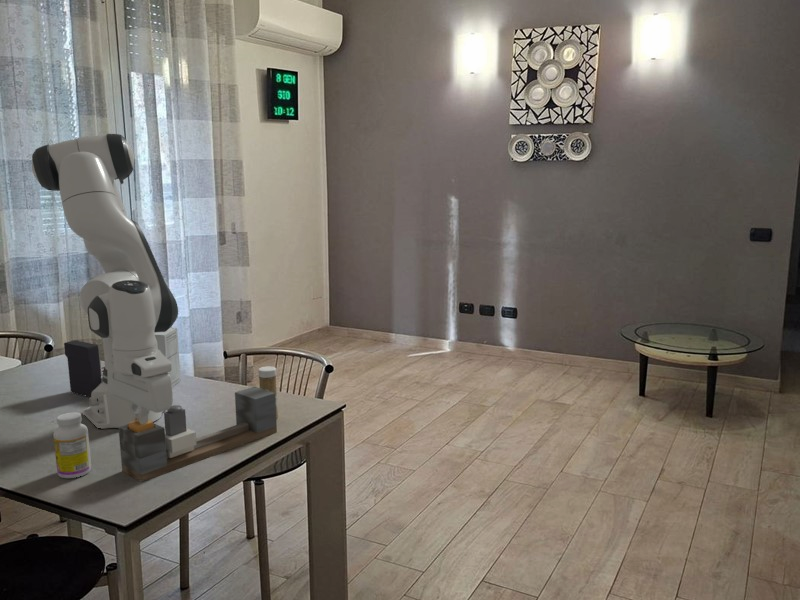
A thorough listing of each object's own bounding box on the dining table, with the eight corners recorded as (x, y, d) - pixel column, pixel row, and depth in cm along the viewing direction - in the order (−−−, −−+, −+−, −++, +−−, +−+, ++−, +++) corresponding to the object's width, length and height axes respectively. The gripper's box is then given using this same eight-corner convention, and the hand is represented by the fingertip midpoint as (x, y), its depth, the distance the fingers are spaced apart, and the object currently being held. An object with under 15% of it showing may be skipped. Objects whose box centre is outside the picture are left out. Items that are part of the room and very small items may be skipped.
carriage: (157, 452, 157) (154, 408, 155) (181, 444, 162) (178, 401, 160) (172, 459, 153) (169, 414, 151) (196, 451, 158) (194, 407, 156)
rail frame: (122, 471, 152) (118, 427, 150) (256, 424, 179) (254, 386, 177) (141, 481, 147) (138, 436, 145) (276, 431, 174) (275, 393, 172)
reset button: (130, 445, 150) (128, 422, 150) (146, 440, 153) (144, 418, 152) (139, 449, 148) (137, 426, 147) (154, 444, 151) (153, 422, 150)
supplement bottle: (64, 466, 154) (59, 410, 152) (95, 465, 155) (90, 409, 153) (52, 480, 148) (46, 422, 145) (85, 479, 148) (79, 421, 146)
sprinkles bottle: (281, 419, 183) (279, 368, 180) (264, 422, 180) (262, 371, 178) (273, 413, 186) (271, 364, 184) (257, 417, 184) (255, 367, 181)
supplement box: (152, 380, 216) (148, 326, 213) (181, 380, 215) (178, 327, 212) (138, 389, 207) (133, 333, 204) (168, 390, 206) (164, 334, 203)
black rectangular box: (105, 395, 202) (100, 344, 200) (91, 399, 199) (87, 347, 196) (82, 388, 208) (77, 339, 205) (68, 392, 205) (63, 342, 202)
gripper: (97, 353, 151) (102, 415, 154) (147, 371, 138) (152, 438, 141) (124, 348, 156) (129, 407, 159) (176, 364, 143) (180, 429, 146)
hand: (140, 422), depth 150 cm, fingers closed, pressing on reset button
